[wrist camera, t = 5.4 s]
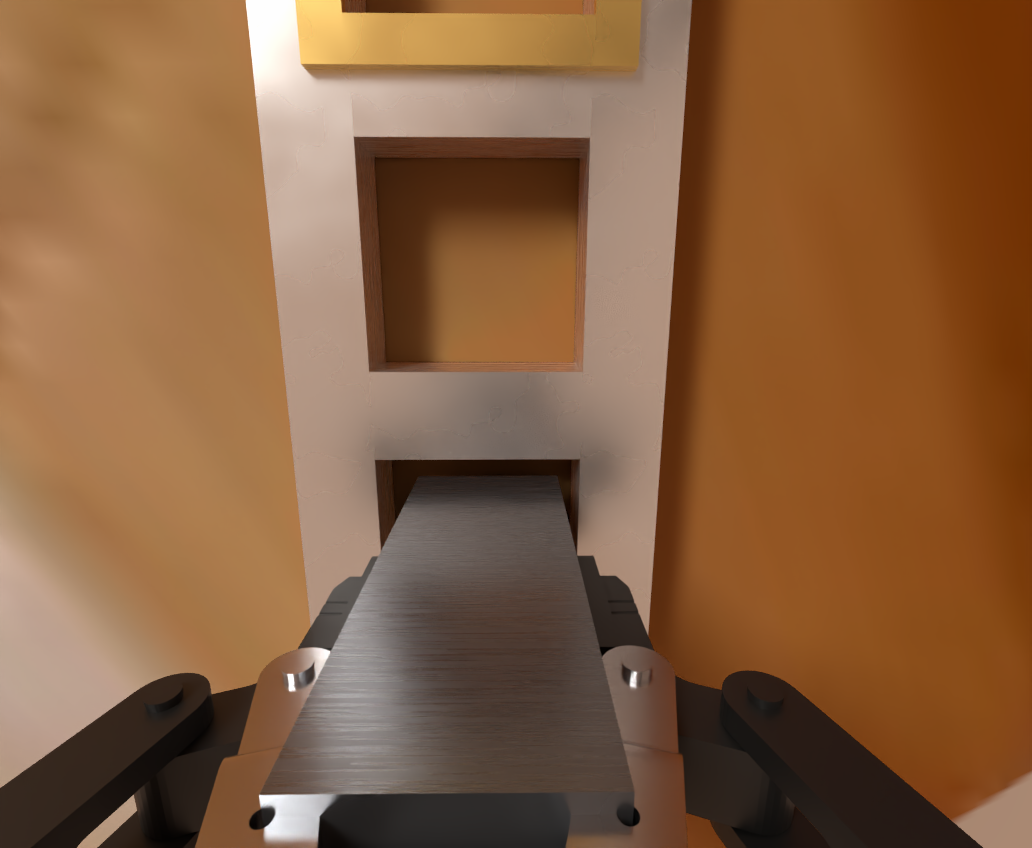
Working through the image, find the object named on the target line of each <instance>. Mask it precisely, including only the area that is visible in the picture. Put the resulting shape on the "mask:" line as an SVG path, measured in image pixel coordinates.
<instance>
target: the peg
mask: <svg viewBox="0 0 1032 848" xmlns="http://www.w3.org/2000/svg"><path fill="white" fill-rule="evenodd" d="M634 798H635V790H634V786H633V782H632V778H631V774H630V770H629V766H628V762H627V758H626V754H625V749H624V745H623V741H622V737H621V733H620V729H619V725H618V721H617V717H616V713H615V709H614V705H613V701H612V696H611V692H610V688H609V684H608V680H607V676H606V672H605V668H604V664H603V660H602V656H601V652H600V647H599V643H598V639H597V635H596V631H595V627H594V623H593V619H592V615H591V611H590V607H589V603H588V599H587V594H586V590H585V586H584V582H583V578H582V574H581V570H580V566H579V562H578V558H577V554H576V550H575V546H574V541H573V537H572V533H571V529H570V525H569V521H568V517H567V513H566V509H565V505H564V501H563V497H562V493H561V488H560V484H559V480H558V476H557V475H539V476H418V478H417V480H416V482H415V484H414V486H413V488H412V490H411V492H410V494H409V496H408V498H407V500H406V502H405V504H404V506H403V508H402V510H401V512H400V514H399V516H398V518H397V520H396V522H395V524H394V526H393V528H392V530H391V532H390V534H389V536H388V538H387V540H386V542H385V544H384V546H383V548H382V550H381V552H380V554H379V556H378V558H377V560H376V562H375V564H374V566H373V568H372V570H371V572H370V574H369V576H368V578H367V580H366V582H365V584H364V586H363V588H362V590H361V592H360V594H359V596H358V598H357V600H356V602H355V604H354V606H353V608H352V610H351V612H350V614H349V616H348V618H347V620H346V622H345V624H344V626H343V628H342V630H341V632H340V634H339V636H338V638H337V640H336V642H335V644H334V646H333V648H332V650H331V652H330V654H329V656H328V658H327V660H326V662H325V664H324V666H323V668H322V670H321V672H320V674H319V676H318V678H317V680H316V682H315V684H314V686H313V688H312V690H311V692H310V694H309V696H308V698H307V700H306V702H305V704H304V706H303V708H302V710H301V712H300V714H299V716H298V718H297V720H296V722H295V724H294V726H293V728H292V730H291V732H290V734H289V736H288V738H287V740H286V742H285V744H284V746H283V748H282V750H281V752H280V754H279V756H278V758H277V760H276V762H275V764H274V766H273V768H272V770H271V772H270V774H269V776H268V778H267V780H266V782H265V784H264V786H263V788H262V790H261V792H260V794H259V799H260V805H261V812H262V819H263V825H264V828H265V827H266V826H268V825H269V824H270V823H271V822H272V820H273V818H274V817H320V822H321V831H322V840H323V848H566V843H567V837H568V831H569V825H570V819H571V815H598V814H617V817H618V819H619V821H620V822H621V823H622V824H624V825H625V826H629V827H633V813H634Z"/></svg>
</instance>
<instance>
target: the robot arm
mask: <svg viewBox="0 0 1032 848" xmlns="http://www.w3.org/2000/svg"><path fill="white" fill-rule="evenodd" d="M377 558H378V556H373V557H372V558H371V559H370V561H369V563H368V565H367V567H366V569H365V571H364V573H363V575H362V576H361V577H348V578H347V579H345V580H344V581H343V582H341V583H340V584H339V585H338V586H336V587H335V588H334V589H333V591H332V592H331V594H330V596H329V597H328V599H327V601H326V604H324V606H323V607H322V609H321V611H320V612H319V616H317V617H316V619H315V621H314V622H313V624H312V626H311V627H310V629H309V631H308V633H307V634H306V636H305V638H304V639H303V641H302V643H301V644H300V646H299V648H298V649H297V650H293V651H290V652H288V653H285V654H283V655H281V656H279V657H277V658H276V659H274V660H273V661H271V662H270V663H269V664H268V665H267V666H266V667H265V668H264V669H263V670H262V672H261V674H260V676H259V678H258V682H257V683H256V684H253V685H250V686H246V687H242V688H238V689H234V690H229V691H225V692H221V693H216V694H211V688H210V683H209V681H208V680H207V678H205V677H204V676H202V675H199V674H195V673H180V674H175V675H170V676H167V677H164V678H161V679H158V680H156V681H153V682H151V683H149V684H147V685H145V686H144V687H142V688H140V689H139V690H137V691H136V692H134V693H133V694H131V695H130V696H129V697H127V698H126V699H124V700H123V701H122V702H120V703H119V704H117V705H116V706H115V707H113V708H112V709H110V710H109V711H108V712H106V713H105V714H103V715H102V716H101V717H99V718H98V719H96V720H95V721H94V722H92V723H91V724H89V725H88V726H87V727H85V728H84V729H82V730H81V731H80V732H78V733H77V734H75V735H74V736H73V737H71V738H70V739H68V740H67V741H66V742H64V743H63V744H61V745H60V746H59V747H57V748H56V749H54V750H53V751H52V752H50V753H49V754H47V755H46V756H45V757H43V758H42V759H40V760H39V761H38V762H36V763H35V764H33V765H32V766H31V767H29V768H28V769H26V770H25V771H24V772H22V773H21V774H19V775H18V776H17V777H15V778H14V779H12V780H11V781H10V782H8V783H7V784H5V785H4V786H3V787H1V788H0V848H77V847H78V845H79V844H80V843H81V842H82V841H83V840H84V839H85V838H86V837H87V836H88V835H89V834H90V833H91V832H92V831H93V830H94V829H95V828H97V827H98V826H99V825H100V824H101V823H102V822H103V821H104V820H106V819H107V818H108V817H109V816H110V815H111V814H112V813H113V812H115V811H116V810H117V809H118V808H119V807H120V806H121V805H122V804H123V803H125V802H126V801H127V800H128V799H129V798H130V797H131V796H132V795H134V798H135V802H136V807H137V811H136V812H135V813H134V814H133V815H132V816H131V817H130V818H129V819H128V820H127V821H126V822H125V823H123V824H122V825H121V826H120V827H119V828H118V829H117V830H116V831H115V832H114V833H113V834H112V835H111V836H110V837H108V838H107V839H106V840H105V841H104V842H103V843H102V844H101V845H100V846H99V847H98V848H323V840H322V831H321V822H320V817H274V818H273V820H272V822H271V823H270V824H269V825H268V826H266V827H265V828H264V825H263V819H262V812H261V805H260V799H259V794H260V792H261V790H262V788H263V786H264V784H265V782H266V780H267V778H268V776H269V774H270V772H271V770H272V768H273V766H274V764H275V762H276V760H277V758H278V756H279V754H280V752H281V750H282V748H283V746H284V744H285V742H286V740H287V738H288V736H289V734H290V732H291V730H292V728H293V726H294V724H295V722H296V720H297V718H298V716H299V714H300V712H301V710H302V708H303V706H304V704H305V702H306V700H307V698H308V696H309V694H310V692H311V690H312V688H313V686H314V684H315V682H316V680H317V678H318V676H319V674H320V672H321V670H322V668H323V666H324V664H325V662H326V660H327V658H328V656H329V654H330V652H331V650H332V648H333V646H334V644H335V642H336V640H337V638H338V636H339V634H340V632H341V630H342V628H343V626H344V624H345V622H346V620H347V618H348V616H349V614H350V612H351V610H352V608H353V606H354V604H355V602H356V600H357V598H358V596H359V594H360V592H361V590H362V588H363V586H364V584H365V582H366V580H367V578H368V576H369V574H370V572H371V570H372V568H373V566H374V564H375V562H376V560H377ZM577 558H578V562H579V566H580V570H581V574H582V578H583V582H584V586H585V590H586V594H587V599H588V603H589V607H590V611H591V615H592V619H593V623H594V627H595V631H596V635H597V639H598V643H599V647H600V652H601V656H602V660H603V664H604V668H605V672H606V676H607V680H608V684H609V688H610V692H611V696H612V701H613V705H614V709H615V713H616V717H617V721H618V725H619V729H620V733H621V737H622V741H623V745H624V749H625V754H626V758H627V762H628V766H629V770H630V774H631V778H632V782H633V786H634V790H635V798H634V813H633V827H629V826H625V825H624V824H622V823H621V822H620V821H619V819H618V817H617V814H598V815H571V819H570V825H569V831H568V837H567V843H566V848H688V843H687V824H686V813H689V814H692V815H695V816H699V817H702V818H705V819H708V820H710V822H711V824H712V827H713V829H714V830H715V832H716V834H717V835H718V837H719V838H720V839H721V841H722V842H723V843H724V845H725V846H726V848H983V847H982V846H980V845H979V844H978V843H977V842H976V841H975V840H973V839H972V838H971V837H970V836H969V835H968V834H966V833H965V832H964V831H963V830H962V829H960V828H959V827H958V826H957V825H956V824H955V823H953V822H952V821H951V820H950V819H949V818H947V817H946V816H945V815H944V814H943V813H942V812H940V811H939V810H938V809H937V808H936V807H934V806H933V805H932V804H931V803H930V802H929V801H927V800H926V799H925V798H924V797H923V796H921V795H920V794H919V793H918V792H917V791H916V790H914V789H913V788H912V787H911V786H910V785H908V784H907V783H906V782H905V781H904V780H903V779H901V778H900V777H899V776H898V775H897V774H895V773H894V772H893V771H892V770H891V769H890V768H888V767H887V766H886V765H885V764H884V763H882V762H881V761H880V760H879V759H878V758H877V757H875V756H874V755H873V754H872V753H871V752H869V751H868V750H867V749H866V748H865V747H864V746H862V745H861V744H860V743H859V742H858V741H856V740H855V739H854V738H853V737H852V736H851V735H849V734H848V733H847V732H846V731H845V730H843V729H842V728H841V727H840V726H839V725H838V724H836V723H835V722H834V721H833V720H832V719H830V718H829V717H828V716H827V715H826V714H825V713H823V712H822V711H821V710H820V709H819V708H817V707H816V706H815V705H814V704H813V703H812V702H810V701H809V700H808V699H807V698H806V697H804V696H803V695H802V694H801V693H800V692H799V691H797V690H796V689H795V688H794V687H792V686H791V685H790V684H788V683H787V682H785V681H783V680H781V679H779V678H777V677H775V676H772V675H770V674H766V673H762V672H757V671H740V672H735V673H733V674H731V675H729V676H728V677H727V678H726V679H725V680H724V682H723V685H722V690H719V689H715V688H710V687H706V686H702V685H697V684H694V683H690V682H688V681H685V680H683V679H681V678H679V677H677V676H675V672H674V669H673V667H672V665H671V664H670V663H669V661H668V660H667V659H666V658H664V657H663V656H662V655H660V654H659V653H657V652H655V651H654V650H653V647H652V644H651V642H650V639H649V637H648V634H647V632H646V629H645V627H644V624H643V622H642V619H641V616H640V614H639V613H638V609H637V606H636V604H635V603H634V599H633V596H632V594H631V591H630V589H629V587H628V586H627V585H626V584H625V583H624V582H623V581H622V580H620V579H619V578H618V577H617V576H600V574H599V571H598V568H597V565H596V561H595V558H594V556H577ZM797 808H798V809H799V810H800V811H801V812H802V813H801V812H800V811H799V810H798V809H797ZM807 819H808V820H809V821H810V822H811V823H812V824H811V823H810V822H809V821H808V820H807ZM818 831H819V832H820V833H821V834H820V833H819V832H818Z"/></svg>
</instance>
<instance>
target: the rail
mask: <svg viewBox="0 0 1032 848" xmlns="http://www.w3.org/2000/svg"><path fill="white" fill-rule="evenodd" d="M246 6H247V16H248V25H249V35H250V44H251V54H252V64H253V73H254V83H255V93H256V102H257V112H258V122H259V131H260V141H261V150H262V160H263V170H264V179H265V189H266V199H267V208H268V218H269V228H270V237H271V247H272V257H273V266H274V276H275V285H276V295H277V305H278V314H279V324H280V334H281V343H282V353H283V363H284V372H285V382H286V391H287V401H288V411H289V420H290V430H291V440H292V449H293V459H294V469H295V478H296V488H297V497H298V507H299V517H300V526H301V536H302V546H303V555H304V565H305V575H306V584H307V594H308V604H309V613H310V623H311V626H312V624H313V622H314V621H315V619H316V617H317V616H319V612H320V611H321V609H322V607H323V606H324V604H326V601H327V599H328V597H329V596H330V594H331V592H332V591H333V589H334V588H335V587H336V586H338V585H339V584H340V583H341V582H343V581H344V580H345V579H347V578H348V577H361V576H362V575H363V573H364V571H365V569H366V567H367V565H368V563H369V561H370V559H371V558H372V557H373V556H379V554H380V552H381V550H382V548H383V546H384V544H385V542H386V540H387V538H388V536H389V534H390V532H391V530H392V528H393V526H394V524H395V506H394V489H393V472H392V460H481V459H571V490H570V529H571V533H572V537H573V541H574V546H575V550H576V554H577V556H594V558H595V561H596V565H597V568H598V571H599V574H600V576H617V577H618V578H619V579H620V580H622V581H623V582H624V583H625V584H626V585H627V586H628V587H629V589H630V591H631V594H632V596H633V599H634V603H635V604H636V606H637V609H638V613H639V614H640V616H641V619H642V622H643V624H644V627H645V629H646V632H647V634H648V631H649V617H650V602H651V588H652V573H653V559H654V544H655V530H656V515H657V500H658V486H659V471H660V457H661V442H662V428H663V413H664V399H665V384H666V370H667V355H668V341H669V326H670V312H671V297H672V283H673V268H674V254H675V239H676V225H677V210H678V195H679V181H680V166H681V152H682V137H683V123H684V108H685V94H686V79H687V65H688V50H689V36H690V21H691V7H692V0H584V7H583V14H452V13H366V2H365V0H246ZM374 157H398V158H579V193H578V230H577V267H576V304H575V341H574V362H386V350H385V333H384V315H383V298H382V280H381V263H380V246H379V228H378V211H377V193H376V176H375V159H374Z"/></svg>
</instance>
